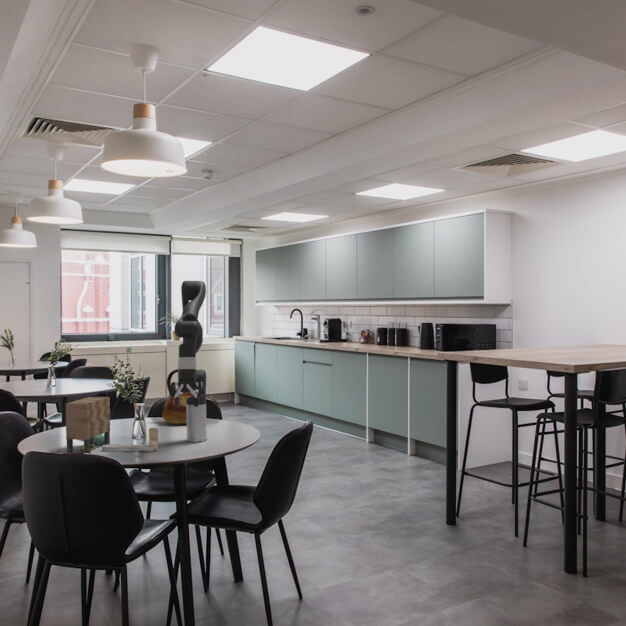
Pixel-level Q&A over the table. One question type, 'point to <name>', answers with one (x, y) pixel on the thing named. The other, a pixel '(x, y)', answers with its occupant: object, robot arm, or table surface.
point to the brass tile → (91, 448)
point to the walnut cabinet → (87, 421)
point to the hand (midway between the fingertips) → (186, 406)
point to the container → (99, 439)
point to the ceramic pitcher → (170, 410)
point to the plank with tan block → (124, 447)
